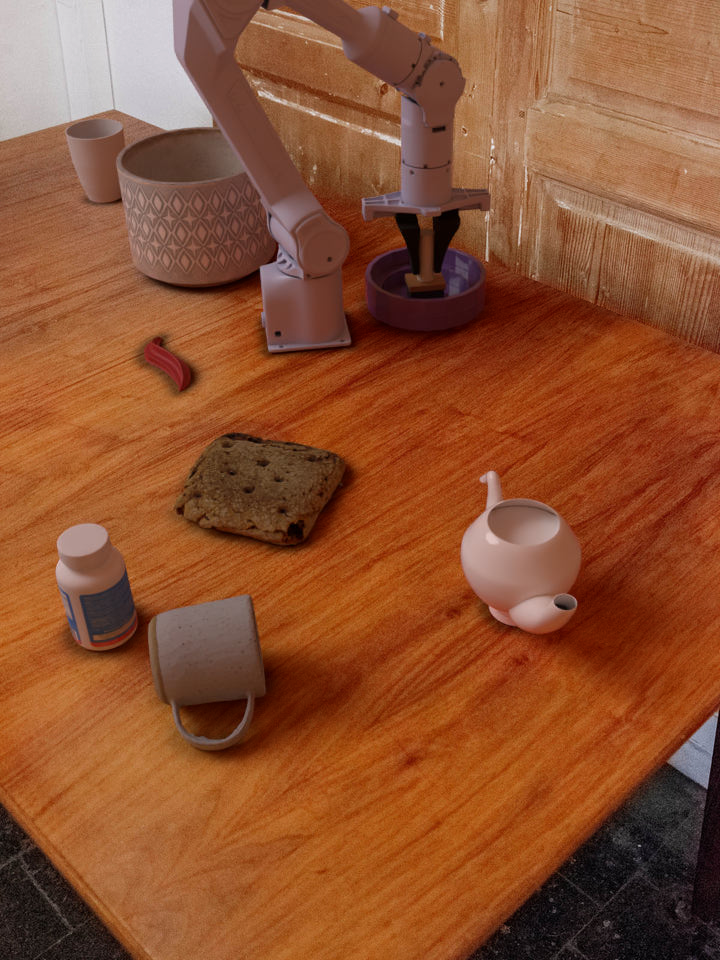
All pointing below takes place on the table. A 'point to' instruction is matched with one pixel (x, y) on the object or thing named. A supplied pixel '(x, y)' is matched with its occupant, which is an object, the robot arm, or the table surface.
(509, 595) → the teapot
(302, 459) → the pastry
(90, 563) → the pill bottle
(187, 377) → the cayenne pepper
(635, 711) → the table surface
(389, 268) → the bowl
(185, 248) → the planter
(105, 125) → the cup
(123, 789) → the table surface
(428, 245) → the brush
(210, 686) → the ceramic mug
